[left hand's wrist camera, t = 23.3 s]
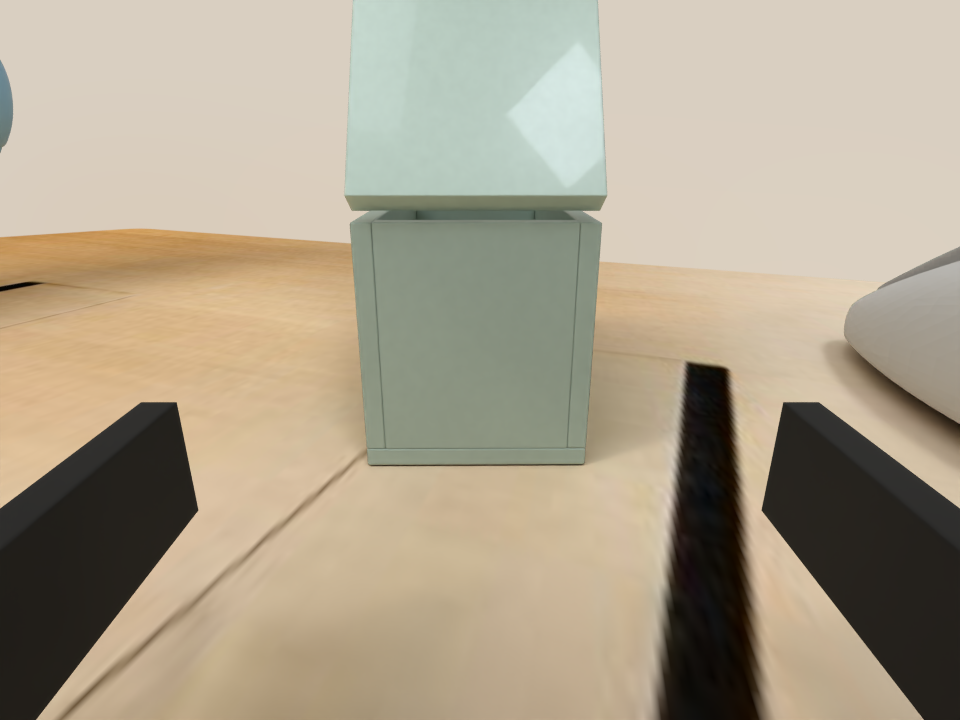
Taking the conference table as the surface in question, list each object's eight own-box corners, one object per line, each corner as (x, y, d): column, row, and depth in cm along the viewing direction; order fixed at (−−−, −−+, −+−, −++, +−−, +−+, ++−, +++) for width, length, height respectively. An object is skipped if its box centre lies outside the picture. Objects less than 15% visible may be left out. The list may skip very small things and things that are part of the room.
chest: (410, 338, 41) (404, 189, 37) (540, 338, 41) (546, 189, 37) (367, 465, 25) (349, 222, 21) (584, 464, 25) (602, 222, 21)
